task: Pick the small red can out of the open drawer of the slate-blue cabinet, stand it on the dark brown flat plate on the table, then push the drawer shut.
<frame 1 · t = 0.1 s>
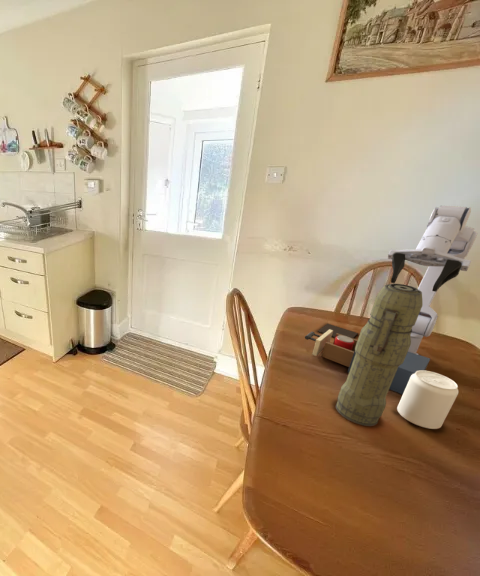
hand: (412, 284, 78), 32 cm above the table, tool tilted 50°, fingers open, 7 cm apart
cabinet: (383, 376, 95), on the table
drawer: (336, 347, 103), point 4 cm above the table, slide at 9.0 cm, touching red can
white cylinder: (417, 418, 79), on the table
dark brown flat plate: (337, 333, 119), on the table
thermos: (355, 413, 81), on the table
red can: (340, 353, 103), point 2 cm above the table, touching drawer
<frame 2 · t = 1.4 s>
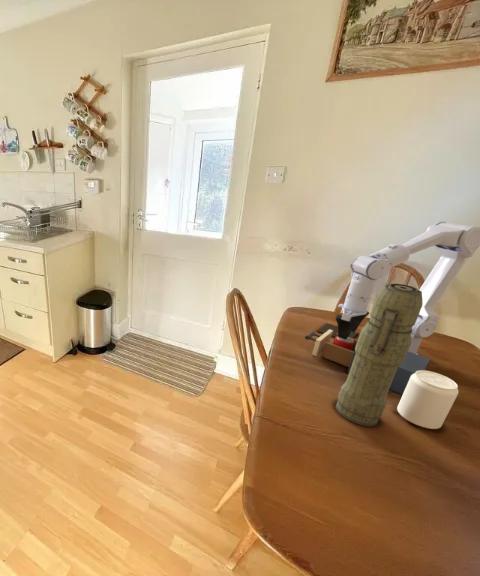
hand: (346, 334, 100), 9 cm above the table, tool pointing down, fingers open, 7 cm apart
nothing on the table moved.
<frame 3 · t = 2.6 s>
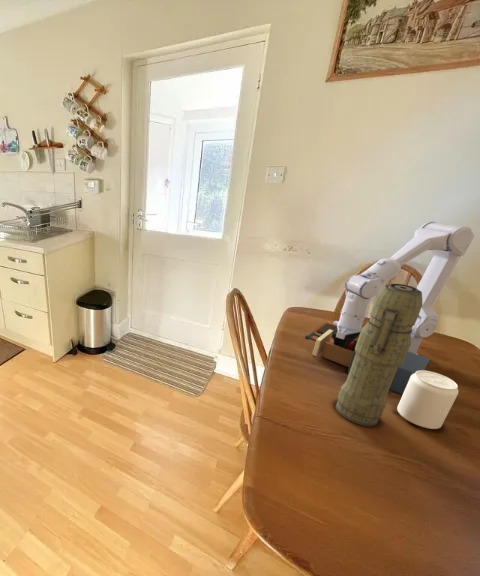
hand: (341, 350, 102), 3 cm above the table, tool pointing down, fingers closed on red can, 5 cm apart
red can: (340, 353, 102), point 2 cm above the table, touching drawer, gripper
everything else where it was.
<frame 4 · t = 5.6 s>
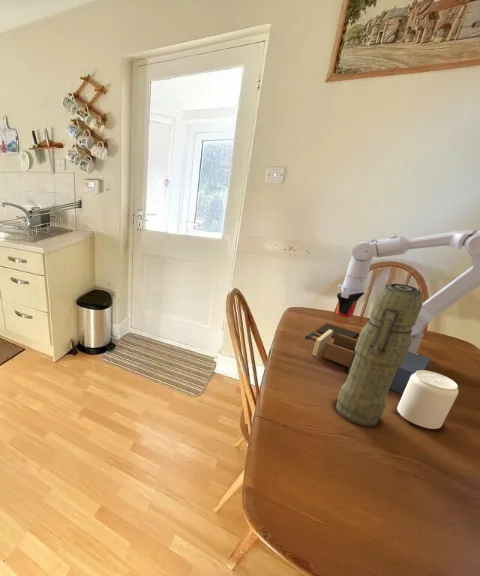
hand: (345, 311, 113), 10 cm above the table, tool pointing down, fingers closed on red can, 5 cm apart
drawer: (336, 347, 103), point 4 cm above the table, slide at 9.0 cm
red can: (344, 314, 114), point 9 cm above the table, touching gripper
everything else where it was.
when the fingers open (2 cm above the table, at t = 8.4 s): red can stays where it is, resting on dark brown flat plate.
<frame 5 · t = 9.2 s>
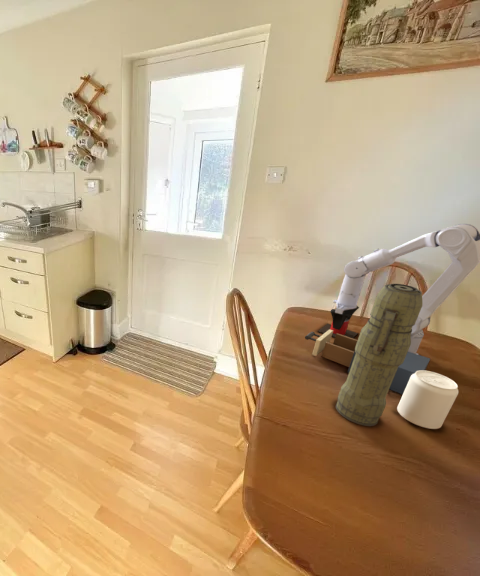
hand: (339, 325, 118), 3 cm above the table, tool pointing down, fingers open, 7 cm apart
red can: (337, 332, 119), resting on dark brown flat plate
everything else where it was.
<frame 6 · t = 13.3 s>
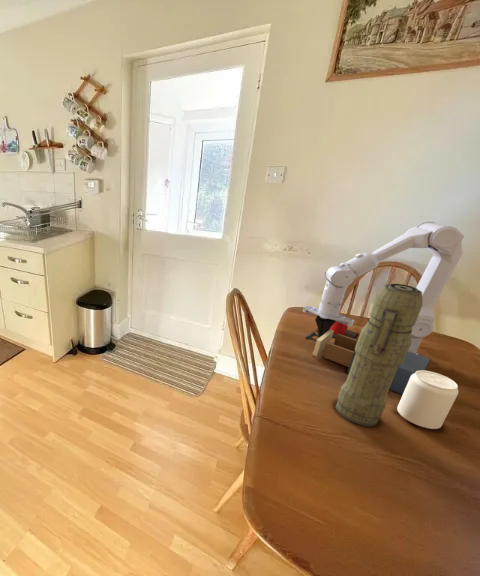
hand: (321, 336, 110), 3 cm above the table, tool pointing down, fingers closed
drawer: (337, 347, 103), point 4 cm above the table, slide at 8.8 cm, touching gripper
everything else where it was.
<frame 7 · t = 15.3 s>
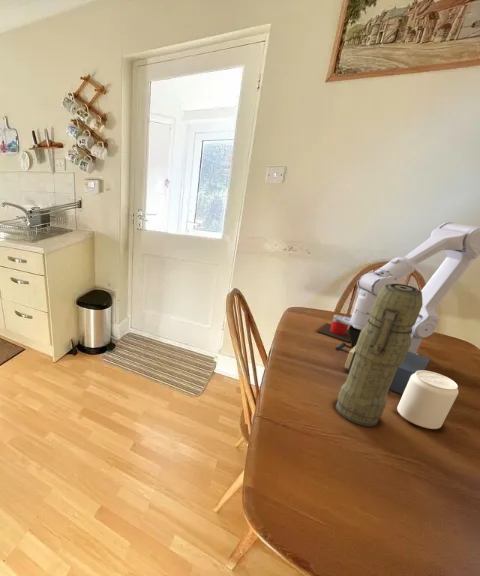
hand: (353, 347, 103), 3 cm above the table, tool pointing down, fingers closed
drawer: (371, 359, 96), point 4 cm above the table, slide at 0.0 cm, touching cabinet, gripper
everything else where it was.
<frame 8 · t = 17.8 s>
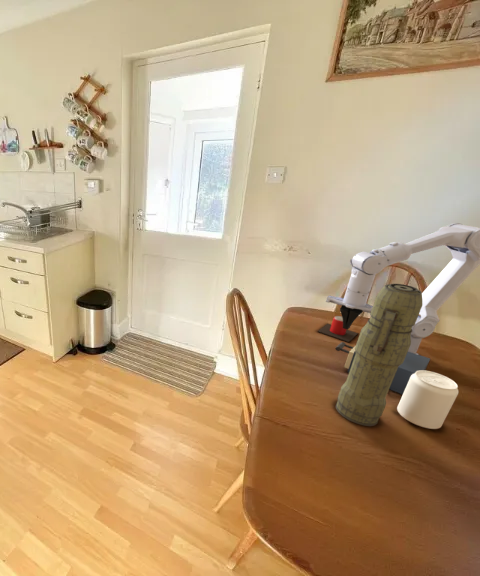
hand: (346, 328, 104), 9 cm above the table, tool pointing down, fingers closed
drawer: (371, 359, 96), point 4 cm above the table, slide at 0.0 cm, touching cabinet
everything else where it was.
at the end: red can inside the target area on the dark brown flat plate (0.1 cm from its centre), point 0.4 cm above the dark brown flat plate's base; red can tilted 0°; drawer slide at 0.0 cm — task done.
